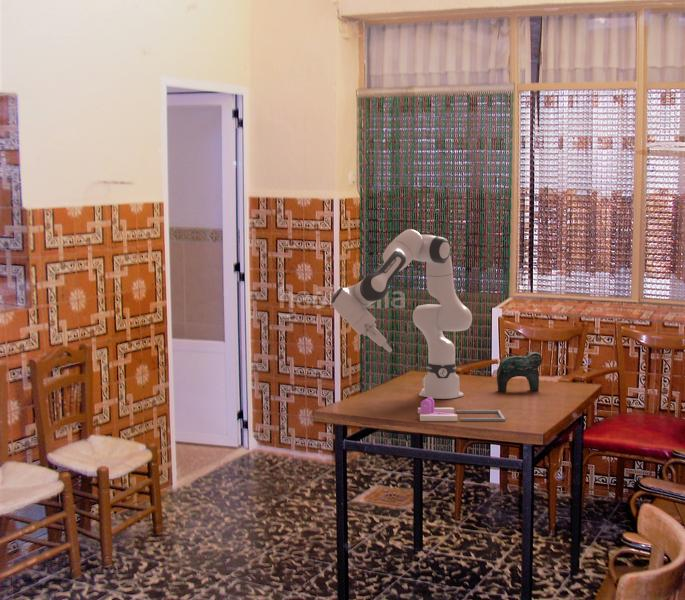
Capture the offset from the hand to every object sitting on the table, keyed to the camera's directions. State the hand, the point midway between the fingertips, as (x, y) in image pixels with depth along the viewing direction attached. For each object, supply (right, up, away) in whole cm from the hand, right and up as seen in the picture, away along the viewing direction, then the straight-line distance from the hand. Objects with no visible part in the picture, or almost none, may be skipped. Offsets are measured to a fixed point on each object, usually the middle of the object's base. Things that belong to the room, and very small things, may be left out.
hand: (389, 350), depth 374 cm
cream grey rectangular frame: (+27, -26, +3) cm, 38 cm away
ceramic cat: (+59, -21, +54) cm, 83 cm away
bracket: (+19, -26, +3) cm, 32 cm away
